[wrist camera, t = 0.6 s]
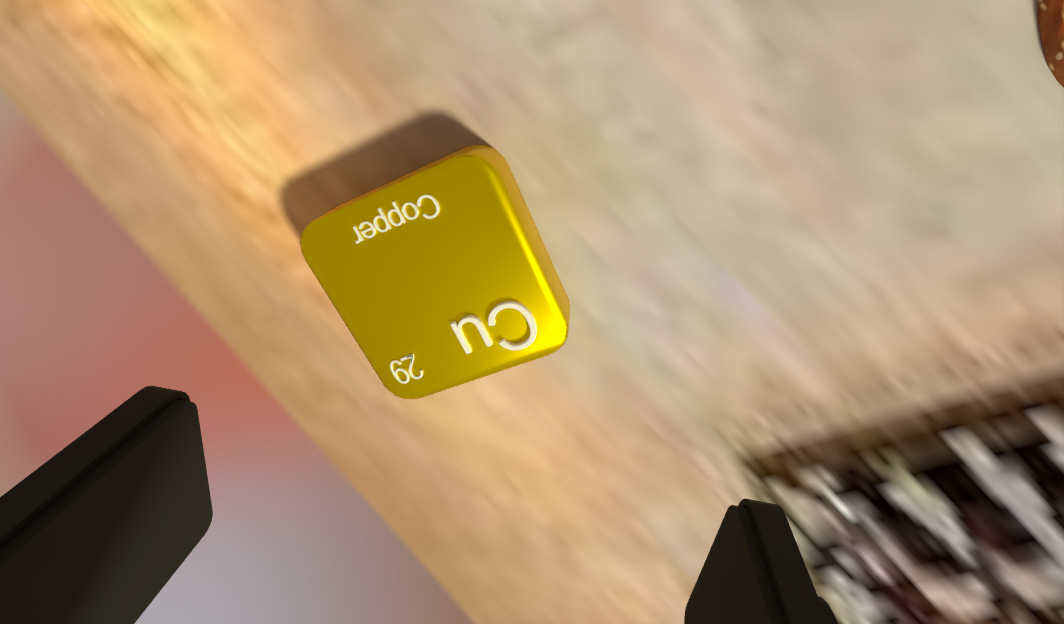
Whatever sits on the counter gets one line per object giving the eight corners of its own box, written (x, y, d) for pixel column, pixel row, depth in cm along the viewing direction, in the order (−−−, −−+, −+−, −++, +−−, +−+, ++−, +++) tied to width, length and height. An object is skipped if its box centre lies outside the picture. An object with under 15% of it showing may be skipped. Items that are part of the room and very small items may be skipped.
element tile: (495, 132, 37) (482, 144, 33) (579, 319, 43) (577, 350, 38) (314, 216, 41) (282, 235, 37) (412, 377, 46) (393, 411, 42)
